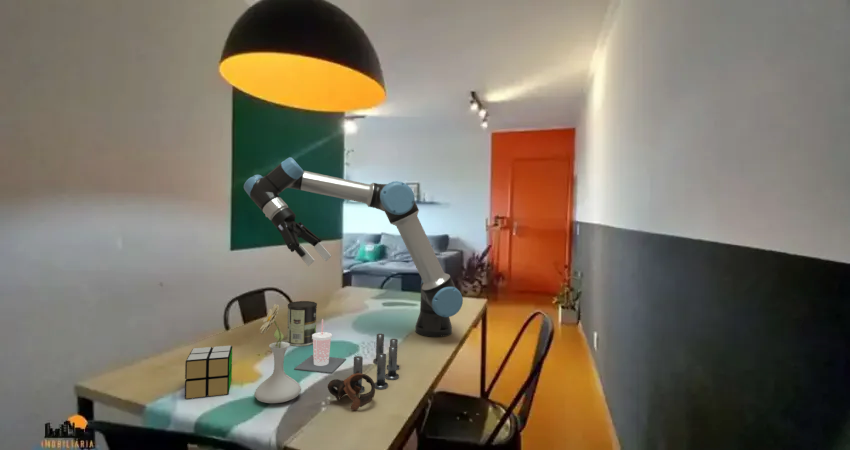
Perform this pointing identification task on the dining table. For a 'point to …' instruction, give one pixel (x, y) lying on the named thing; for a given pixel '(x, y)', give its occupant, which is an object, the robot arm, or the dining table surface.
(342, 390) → the pottery mug
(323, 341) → the beverage cup
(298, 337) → the coffee can
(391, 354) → the posts
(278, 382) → the flower in vase
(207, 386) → the puzzle cube
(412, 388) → the dining table surface
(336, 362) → the mat
